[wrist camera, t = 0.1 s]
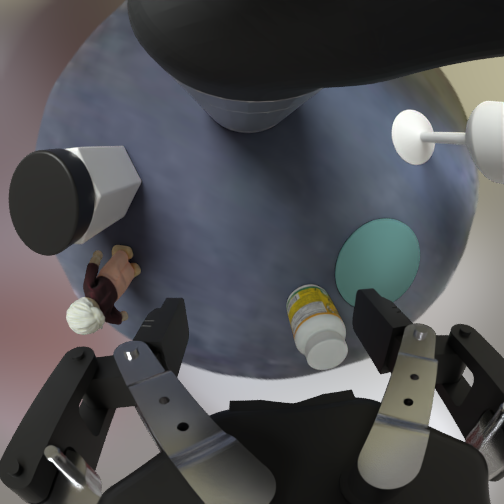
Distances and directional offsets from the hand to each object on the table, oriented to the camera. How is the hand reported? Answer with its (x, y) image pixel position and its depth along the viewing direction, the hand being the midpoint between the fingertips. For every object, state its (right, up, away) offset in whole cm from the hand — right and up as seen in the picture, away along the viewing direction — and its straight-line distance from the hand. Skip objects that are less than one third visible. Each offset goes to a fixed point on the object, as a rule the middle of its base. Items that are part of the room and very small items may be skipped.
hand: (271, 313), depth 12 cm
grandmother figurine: (-15, +1, +18) cm, 24 cm away
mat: (+15, +1, +19) cm, 24 cm away
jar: (-17, +11, +14) cm, 25 cm away
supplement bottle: (+6, -3, +20) cm, 21 cm away
